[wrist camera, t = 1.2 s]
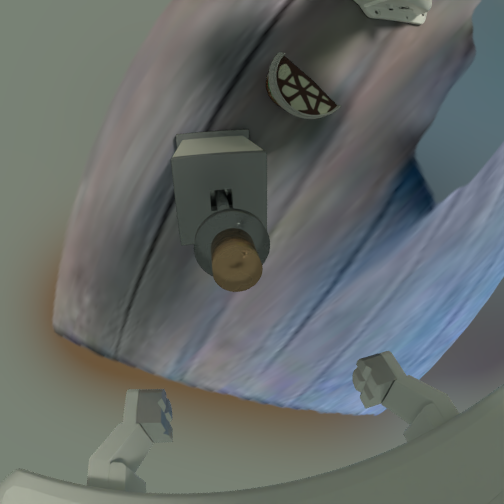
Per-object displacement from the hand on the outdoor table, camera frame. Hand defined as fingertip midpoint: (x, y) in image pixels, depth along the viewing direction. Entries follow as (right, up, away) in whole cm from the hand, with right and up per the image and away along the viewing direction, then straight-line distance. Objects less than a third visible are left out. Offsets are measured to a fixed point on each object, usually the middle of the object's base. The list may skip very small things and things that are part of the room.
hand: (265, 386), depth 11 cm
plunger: (-5, +13, +24) cm, 28 cm away
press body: (-7, +20, +37) cm, 43 cm away
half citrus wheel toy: (+5, +32, +33) cm, 46 cm away
